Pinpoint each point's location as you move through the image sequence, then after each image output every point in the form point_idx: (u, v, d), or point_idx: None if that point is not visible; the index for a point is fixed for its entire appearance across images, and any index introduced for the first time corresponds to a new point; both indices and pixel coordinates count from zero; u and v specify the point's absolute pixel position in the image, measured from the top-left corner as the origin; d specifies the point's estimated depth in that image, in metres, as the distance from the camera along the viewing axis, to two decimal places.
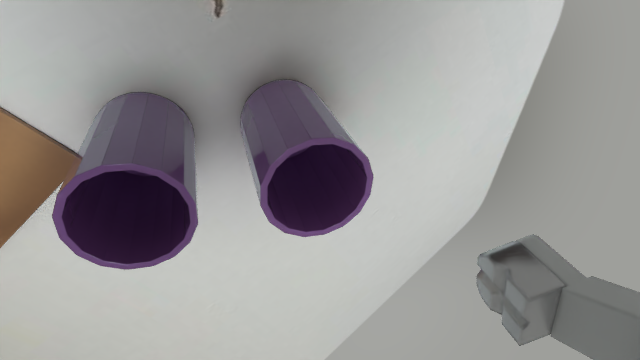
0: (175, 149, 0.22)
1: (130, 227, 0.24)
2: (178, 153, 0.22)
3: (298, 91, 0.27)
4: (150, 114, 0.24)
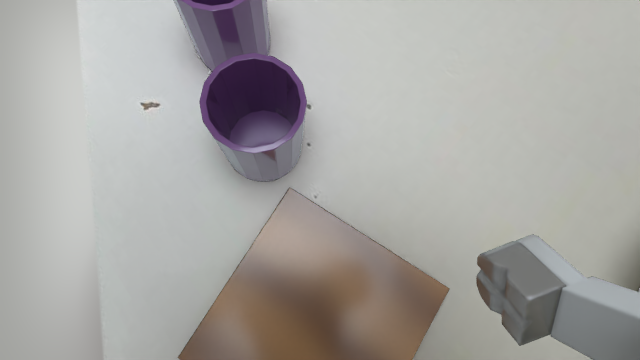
0: None
1: None
2: None
3: None
4: None
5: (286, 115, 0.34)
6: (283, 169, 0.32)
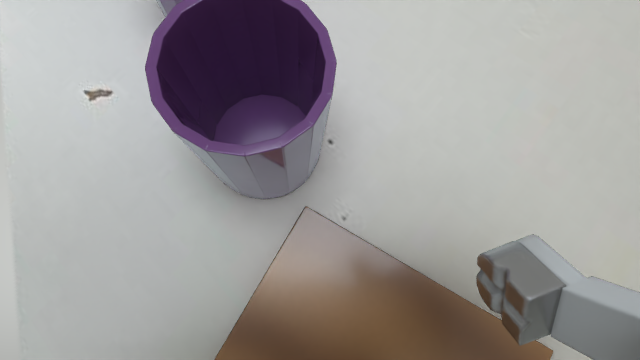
0: None
1: None
2: None
3: None
4: None
5: (296, 99, 0.23)
6: (296, 180, 0.21)
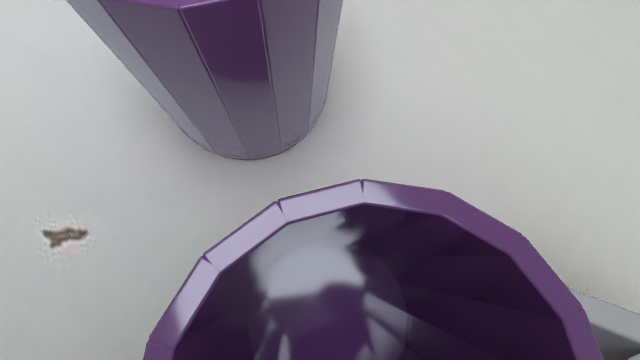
0: None
1: None
2: None
3: None
4: None
5: (383, 256, 0.14)
6: None
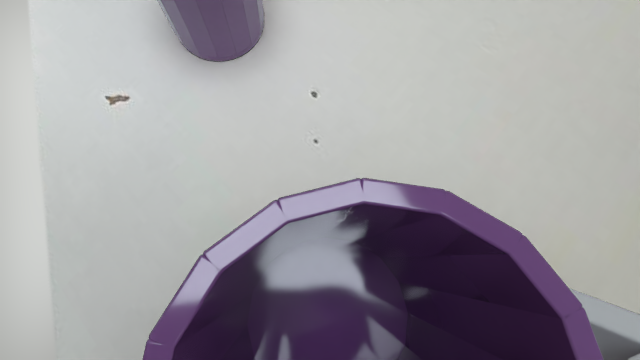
0: None
1: (484, 359, 0.09)
2: None
3: None
4: None
5: (383, 256, 0.14)
6: None
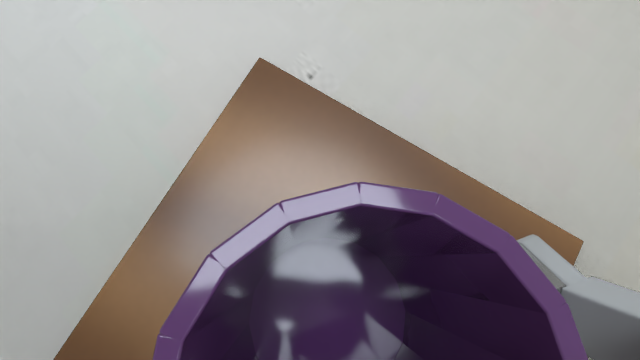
0: None
1: (477, 354, 0.09)
2: None
3: None
4: None
5: (381, 255, 0.14)
6: None
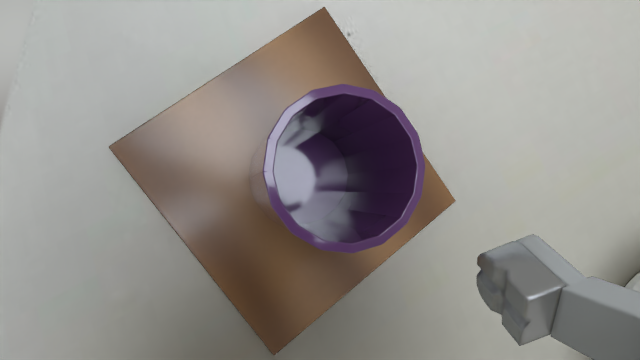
0: None
1: (381, 195, 0.19)
2: None
3: None
4: None
5: (347, 154, 0.24)
6: None
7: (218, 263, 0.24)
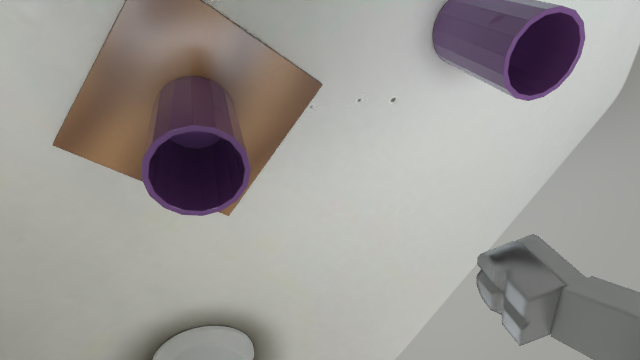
0: (222, 113, 0.27)
1: (198, 185, 0.29)
2: (225, 116, 0.27)
3: None
4: (196, 90, 0.29)
5: (224, 142, 0.34)
6: None
7: (99, 80, 0.30)
